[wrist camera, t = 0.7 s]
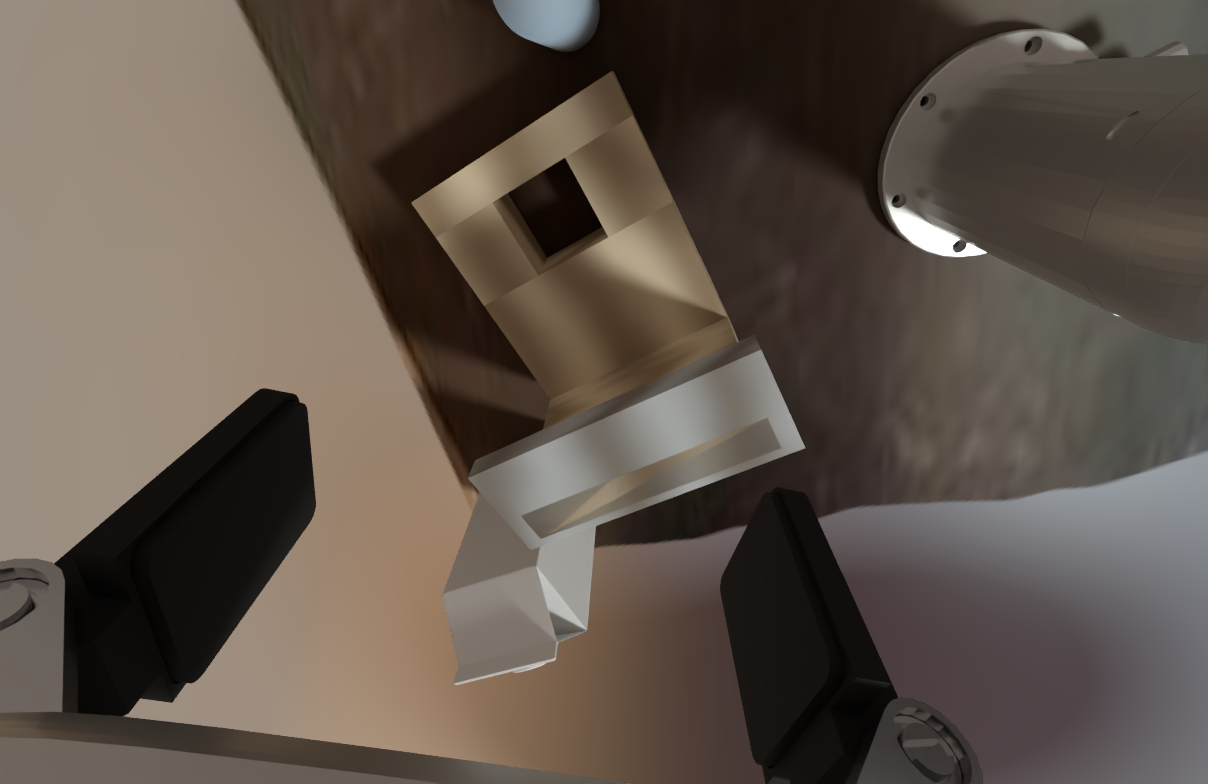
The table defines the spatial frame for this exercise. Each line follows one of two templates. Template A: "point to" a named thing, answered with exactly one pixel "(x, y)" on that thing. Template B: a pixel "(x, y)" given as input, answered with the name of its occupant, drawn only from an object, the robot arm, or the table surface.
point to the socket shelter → (605, 330)
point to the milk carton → (514, 596)
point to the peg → (552, 21)
